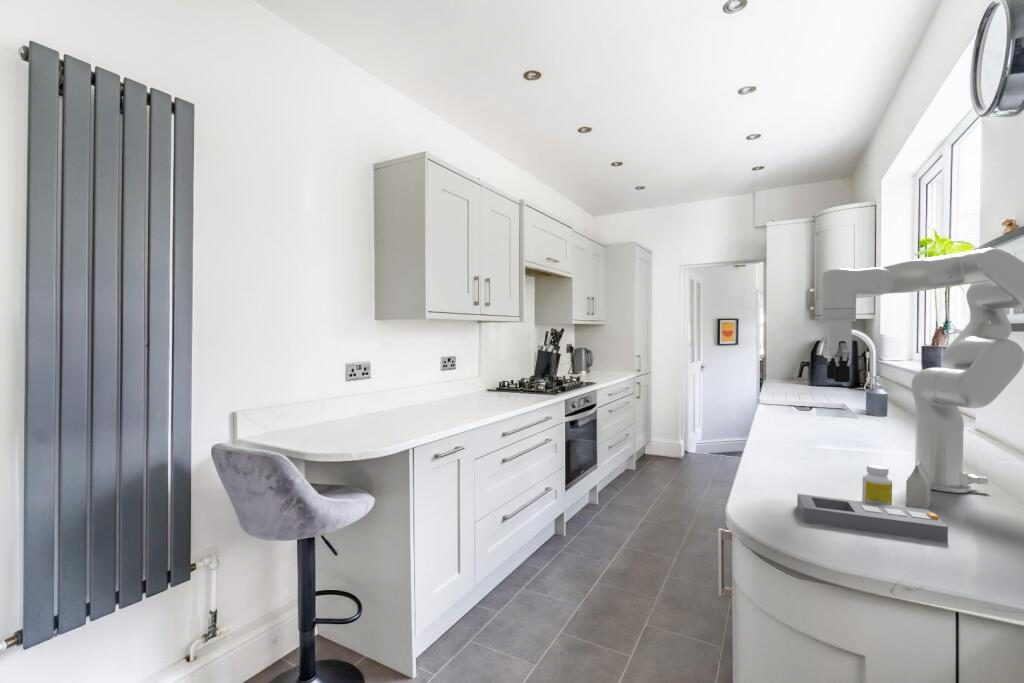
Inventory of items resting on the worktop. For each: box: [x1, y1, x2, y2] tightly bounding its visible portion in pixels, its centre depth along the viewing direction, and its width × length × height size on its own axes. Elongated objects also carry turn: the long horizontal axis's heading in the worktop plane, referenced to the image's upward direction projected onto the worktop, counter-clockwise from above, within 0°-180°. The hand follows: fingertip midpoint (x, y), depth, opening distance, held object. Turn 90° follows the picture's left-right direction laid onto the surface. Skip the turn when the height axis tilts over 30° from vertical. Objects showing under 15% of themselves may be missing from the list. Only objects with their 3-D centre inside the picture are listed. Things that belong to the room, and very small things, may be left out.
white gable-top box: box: [905, 460, 932, 510], centre depth 112 cm, size 4×7×10 cm, turn 133°
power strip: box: [796, 493, 949, 543], centre depth 101 cm, size 24×10×4 cm, turn 65°
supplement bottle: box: [861, 464, 893, 505], centre depth 109 cm, size 5×5×10 cm
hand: (837, 380), depth 125 cm, fingers open, 9 cm apart
